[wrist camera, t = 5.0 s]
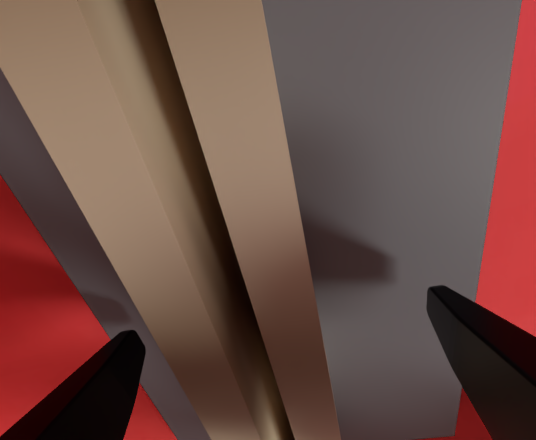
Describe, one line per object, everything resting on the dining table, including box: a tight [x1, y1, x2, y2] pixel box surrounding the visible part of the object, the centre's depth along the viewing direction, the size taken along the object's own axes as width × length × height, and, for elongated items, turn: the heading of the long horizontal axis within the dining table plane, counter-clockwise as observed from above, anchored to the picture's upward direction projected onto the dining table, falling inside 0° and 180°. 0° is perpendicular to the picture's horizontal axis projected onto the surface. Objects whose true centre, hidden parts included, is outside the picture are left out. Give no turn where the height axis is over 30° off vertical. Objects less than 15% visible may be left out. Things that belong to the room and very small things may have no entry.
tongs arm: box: [0, 0, 295, 440], centre depth 7 cm, size 17×1×4 cm, turn 12°
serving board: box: [0, 0, 522, 440], centre depth 10 cm, size 22×13×1 cm, turn 12°
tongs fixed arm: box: [155, 0, 341, 440], centre depth 7 cm, size 20×3×4 cm, turn 12°
